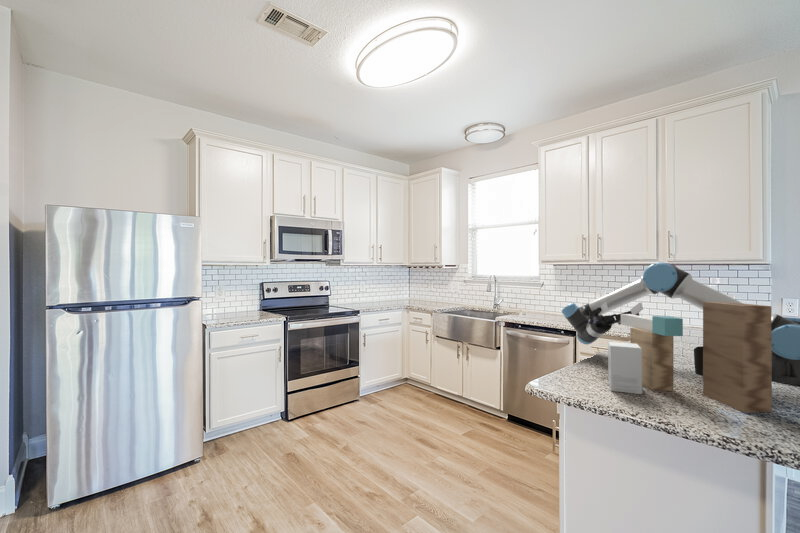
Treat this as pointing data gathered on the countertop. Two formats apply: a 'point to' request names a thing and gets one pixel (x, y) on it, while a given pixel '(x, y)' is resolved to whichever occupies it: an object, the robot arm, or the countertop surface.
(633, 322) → the teal and white bar
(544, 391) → the countertop surface
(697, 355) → the pen holder
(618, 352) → the supplement box
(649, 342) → the wooden block
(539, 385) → the countertop surface
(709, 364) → the tall block
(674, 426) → the countertop surface
